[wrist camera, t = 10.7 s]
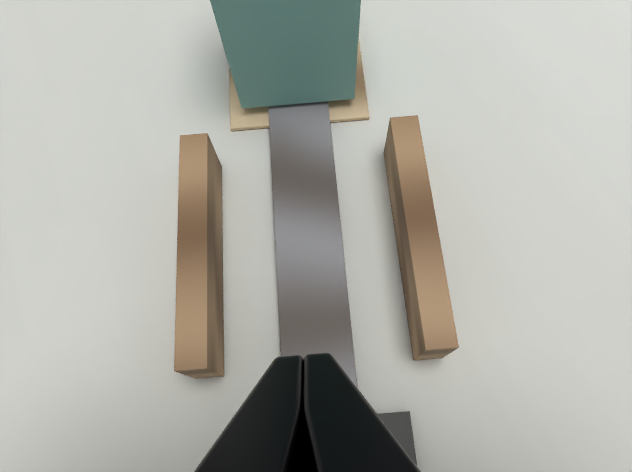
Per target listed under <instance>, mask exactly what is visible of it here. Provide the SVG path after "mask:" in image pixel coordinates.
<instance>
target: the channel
mask: <svg viewBox="0 0 632 472" xmlns="http://www.w3.org/2000/svg"><path fill="white" fill-rule="evenodd" d="M229 74H230V129H231V131H237V130H249V129H261V128H270V148H271V168H272V187H273V207H274V227H275V247H276V266H277V286H278V306H279V325H280V345H281V356H292V355H300V356H302V357H303V360H304V357H305V356H306V355H307V354H317V353H330V354H331V355H332V356H333V357H334V358H335V359H336V361H337V362H338V363H339V365H340V366H341V367H342V369H343V370H344V371H345V373H346V374H347V375H348V377H349V378H350V379H351V380H352V382H353V383H354V384H355V386H356V387H357V380H356V370H355V361H354V351H353V341H352V331H351V321H350V312H349V302H348V292H347V282H346V272H345V263H344V253H343V243H342V233H341V223H340V214H339V204H338V194H337V184H336V175H335V165H334V155H333V145H332V135H331V126H330V123H332V122H343V121H355V120H367V119H369V112H368V104H367V97H366V89H365V82H364V75H363V67H362V60H361V53H360V45H359V38H358V51H357V67H356V83H355V99H348V100H336V101H324V102H312V103H301V104H289V105H277V106H265V107H254V108H241V105H240V101H239V98H238V94H237V91H236V87H235V84H234V81H233V77H232V74H231V70H230V67H229ZM384 158H385V165H386V172H387V179H388V186H389V193H390V200H391V207H392V214H393V221H394V227H395V234H396V241H397V248H398V255H399V262H400V269H401V276H402V283H403V290H404V297H405V304H406V311H407V318H408V325H409V332H410V339H411V346H412V353H413V360H424V359H436V358H443V357H444V356H446V355H448V354H449V353H451V352H452V351H454V350H455V349H457V348H459V346H458V340H457V335H456V329H455V323H454V318H453V312H452V307H451V301H450V295H449V290H448V284H447V278H446V273H445V267H444V261H443V256H442V250H441V244H440V239H439V233H438V227H437V222H436V216H435V210H434V205H433V199H432V194H431V188H430V182H429V177H428V171H427V165H426V160H425V154H424V148H423V143H422V137H421V131H420V126H419V120H418V115H416V116H404V117H392V118H390V121H389V127H388V132H387V138H386V143H385V149H384ZM174 371H176V372H179V373H181V374H184V375H187V376H190V377H193V378H206V377H218V376H224V333H223V236H222V166H221V164H220V161H219V159H218V157H217V154H216V152H215V150H214V147H213V145H212V143H211V141H210V138H209V136H208V134H207V133H204V134H192V135H181V136H180V154H179V195H178V236H177V277H176V319H175V360H174ZM377 415H378V416H379V417H380V419H381V420H382V421H383V423H384V424H385V425H386V426H387V428H388V429H389V430H390V432H391V433H392V434H393V436H394V437H395V438H396V440H397V441H398V442H399V444H400V445H401V446H402V448H403V449H404V450H405V451H406V453H407V454H408V455H409V457H410V458H411V459H412V461H413V462H414V463H415V465H416V466H417V462H416V455H415V448H414V440H413V433H412V426H411V418H410V411H408V412H396V413H384V414H377Z"/></svg>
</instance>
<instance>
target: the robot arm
mask: <svg viewBox="0 0 632 472" xmlns="http://www.w3.org/2000/svg"><path fill="white" fill-rule="evenodd" d="M194 472H421V471H420V470H419V469H418V467H417V466H416V465H415V463H414V462H413V461H412V459H411V458H410V457H409V455H408V454H407V453H406V451H405V450H404V449H403V448H402V446H401V445H400V444H399V442H398V441H397V440H396V438H395V437H394V436H393V434H392V433H391V432H390V430H389V429H388V428H387V426H386V425H385V424H384V423H383V421H382V420H381V419H380V417H379V416H378V415H377V413H376V412H375V411H374V409H373V408H372V407H371V405H370V404H369V403H368V402H367V400H366V399H365V398H364V396H363V395H362V394H361V392H360V391H359V390H358V388H357V387H356V386H355V384H354V383H353V382H352V380H351V379H350V378H349V377H348V375H347V374H346V373H345V371H344V370H343V369H342V367H341V366H340V365H339V363H338V362H337V361H336V359H335V358H334V357H333V356H332V355H331V354H330V353H317V354H307V355H306V356H305V357H304V360H303V357H302V356H300V355H292V356H280V357H277V358H276V359H275V360H274V361H273V362H272V364H271V365H270V366H269V368H268V369H267V371H266V372H265V373H264V375H263V376H262V378H261V379H260V380H259V382H258V383H257V385H256V386H255V387H254V389H253V390H252V392H251V393H250V394H249V396H248V397H247V399H246V400H245V401H244V403H243V404H242V406H241V407H240V408H239V410H238V411H237V413H236V414H235V415H234V417H233V418H232V420H231V421H230V422H229V424H228V425H227V427H226V428H225V429H224V431H223V432H222V434H221V435H220V436H219V438H218V439H217V441H216V442H215V443H214V445H213V446H212V448H211V449H210V450H209V452H208V453H207V455H206V456H205V457H204V459H203V460H202V462H201V463H200V464H199V466H198V467H197V469H196V470H195V471H194Z"/></svg>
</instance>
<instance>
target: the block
mask: <svg viewBox="0 0 632 472" xmlns="http://www.w3.org/2000/svg"><path fill="white" fill-rule="evenodd" d="M210 2H211V5H212V8H213V12H214V15H215V19H216V22H217V26H218V29H219V32H220V36H221V39H222V43H223V46H224V50H225V53H226V57H227V60H228V63H229V67H230V70H231V74H232V77H233V81H234V84H235V87H236V91H237V94H238V98H239V101H240V105H241V108H254V107H265V106H277V105H289V104H301V103H312V102H324V101H336V100H348V99H355V83H356V67H357V51H358V35H359V19H360V3H361V0H210Z"/></svg>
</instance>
